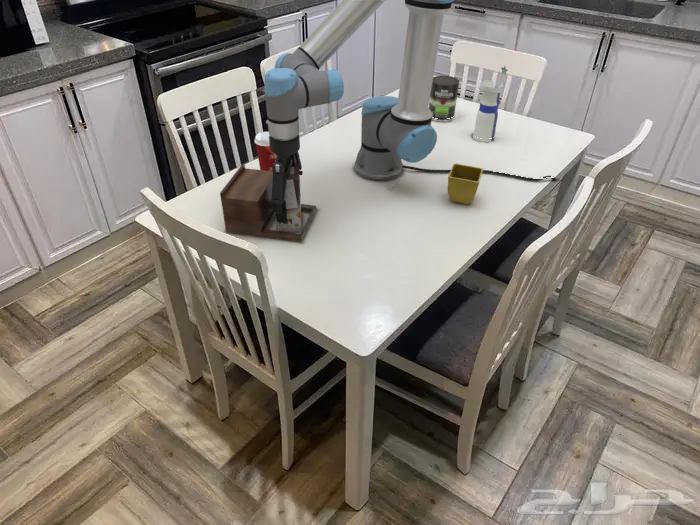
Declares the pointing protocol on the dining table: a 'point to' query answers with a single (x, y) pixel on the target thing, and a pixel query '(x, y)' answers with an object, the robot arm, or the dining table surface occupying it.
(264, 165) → the paper cup
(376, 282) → the dining table surface
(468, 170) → the flower pot
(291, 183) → the coffee box
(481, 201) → the dining table surface
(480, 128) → the water bottle
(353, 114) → the dining table surface
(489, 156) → the dining table surface
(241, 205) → the rack
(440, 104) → the coffee can
